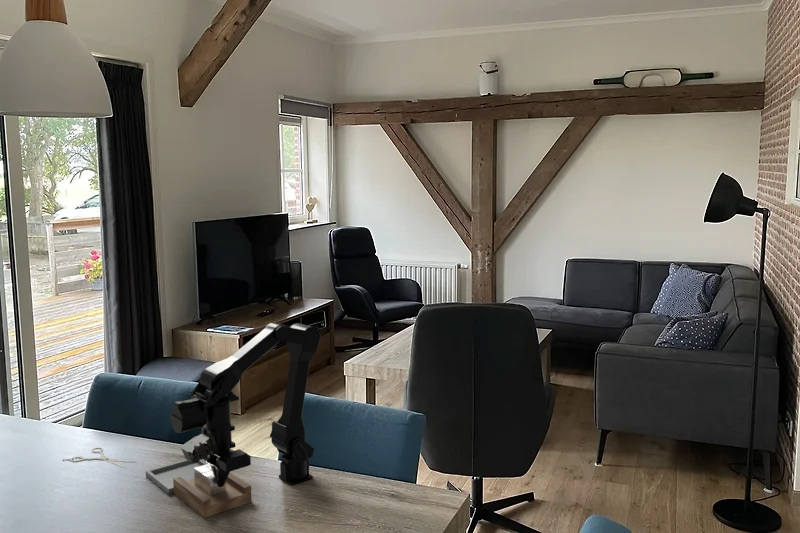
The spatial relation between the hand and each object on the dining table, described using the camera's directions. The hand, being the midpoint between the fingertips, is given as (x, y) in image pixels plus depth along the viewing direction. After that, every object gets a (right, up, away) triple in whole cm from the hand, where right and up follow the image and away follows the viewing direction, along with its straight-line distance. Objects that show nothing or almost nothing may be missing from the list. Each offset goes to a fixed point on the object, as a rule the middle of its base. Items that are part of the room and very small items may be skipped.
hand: (220, 486), depth 163 cm
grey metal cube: (-5, -1, +6) cm, 8 cm away
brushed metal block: (-2, -2, +3) cm, 4 cm away
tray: (-13, -3, +16) cm, 21 cm away
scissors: (-39, -2, +27) cm, 47 cm away
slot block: (-3, -4, +4) cm, 6 cm away
